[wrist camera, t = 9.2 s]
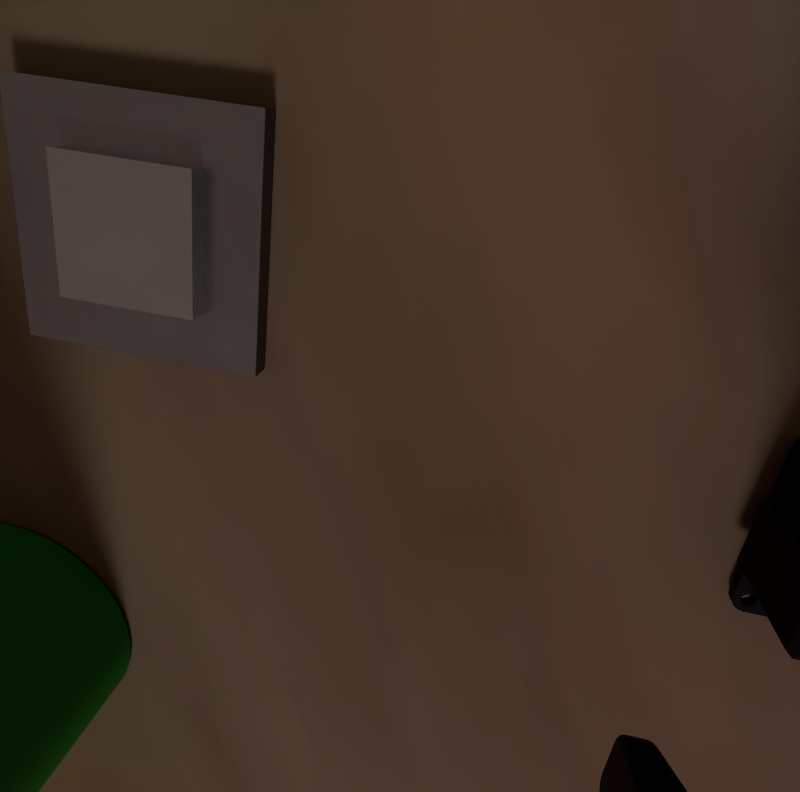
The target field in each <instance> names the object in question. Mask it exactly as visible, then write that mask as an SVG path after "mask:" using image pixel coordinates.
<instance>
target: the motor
mask: <svg viewBox="0 0 800 792" xmlns="http://www.w3.org/2000/svg"><path fill="white" fill-rule="evenodd" d="M130 652H131V647H130V637H129V632H128V629H127V625H126V622H125V620H124V617H123V615H122V613H121V610H120V609H119V607H118V605H117V603H116V601H115V600H114V598H113V597H112V595H111V594H110V592H109V591H108V589H107V588H106V587H105V586H104V584H103V583H102V582H101V581H100V580H99V578H98V577H97V576H96V575H95V574H94V573H93V572H92V571H91V570H90V569H89V568H88V567H87V566H86V565H84V564H83V563H82V562H81V561H80V560H79V559H77V558H76V557H75V556H74V555H72V554H71V553H69V552H68V551H67V550H65V549H64V548H62V547H60V546H59V545H57V544H56V543H54V542H52V541H50V540H48V539H46V538H45V537H42V536H40V535H38V534H36V533H33V532H31V531H28V530H25V529H23V528H19V527H16V526H12V525H8V524H2V523H0V792H39V790H40V789H41V788H42V786H43V785H44V784H45V782H46V781H47V780H48V778H49V777H50V776H51V774H52V773H53V772H54V770H55V769H56V768H57V766H58V765H59V764H60V762H61V761H62V759H63V758H64V757H65V755H66V754H67V753H68V751H69V750H70V749H71V747H72V746H73V745H74V743H75V742H76V741H77V739H78V738H79V737H80V735H81V734H82V732H83V731H84V730H85V728H86V727H87V726H88V724H89V723H90V722H91V720H92V719H93V718H94V716H95V715H96V714H97V712H98V711H99V710H100V708H101V707H102V706H103V704H104V703H105V701H106V700H107V699H108V697H109V696H110V695H111V693H112V692H113V691H114V689H115V688H116V687H117V685H118V684H119V683H120V681H121V680H122V678H123V677H124V675H125V673H126V671H127V668H128V665H129V661H130Z"/></svg>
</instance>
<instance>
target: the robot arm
mask: <svg viewBox="0 0 800 792" xmlns="http://www.w3.org/2000/svg"><path fill="white" fill-rule="evenodd" d="M737 561H738V563H739V568H738V570H737V572H736V574H735V577H734V579H733V581H732V583H731V586H730V588H729V592H728V594H729V597H730V599H731V601H732V603H733V605H734V606H735V607H736V608H737V609H738V610H741V611H743V612H748V613H753V614H758V615H762V616H767V617H768V619H769V620H770V622H771V624H772V626H773V628H774V630H775V631H776V633H777V635H778V637H779V639H780V641H781V643H782V644H783V646H784V648H785V650H786V651H787V652H788V654H789V655H790V656H791V658H792V659H797V660H800V439H799V440H798V441H796V442H795V444H794V445H793V446H792V448H791V450H790V453H789V455H788V457H787V459H786V462H785V464H784V466H783V468H782V471H781V473H780V475H779V477H778V480H777V482H776V484H775V486H774V489H773V491H772V493H771V494H770V495H769V496H767V497H766V498H765V499H764V500H763V502H762V504H761V507H760V509H759V511H758V513H757V516H756V518H755V520H754V522H753V525H752V527H751V529H750V532H749V534H748V536H747V538H746V541H745V543H744V545H743V547H742V550H741V552H740V554H739V556H738V559H737ZM745 594H751V596H749V597H747V598H741V597H742V596H743V595H745ZM599 792H687V791H686V789H685V788H684V786H683V785H682V783H681V782H680V780H679V779H678V777H677V776H676V774H675V773H674V772H673V770H672V769H671V767H670V766H669V764H668V763H667V761H666V760H665V758H664V757H663V755H662V754H661V752H660V751H659V749H658V748H657V747H656V746H655V745H654V744H653V743H652V742H651V741H649V740H646V739H642V738H637V737H633V736H629V735H620V736H619V737H617V739H616V741H615V743H614V745H613V748H612V750H611V753H610V755H609V758H608V760H607V763H606V765H605V768H604V770H603V773H602V776H601V781H600V791H599Z"/></svg>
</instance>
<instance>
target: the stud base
mask: <svg viewBox="0 0 800 792" xmlns="http://www.w3.org/2000/svg"><path fill="white" fill-rule="evenodd" d="M0 90H1V98H2V106H3V115H4V123H5V131H6V139H7V148H8V156H9V164H10V172H11V181H12V189H13V197H14V205H15V214H16V222H17V230H18V238H19V247H20V255H21V263H22V271H23V280H24V288H25V296H26V304H27V313H28V321H29V329H30V335H35V336H40V337H46V338H51V339H56V340H62V341H67V342H72V343H77V344H83V345H88V346H93V347H99V348H104V349H109V350H114V351H120V352H125V353H130V354H136V355H141V356H146V357H152V358H157V359H162V360H167V361H173V362H178V363H183V364H189V365H194V366H199V367H205V368H210V369H215V370H220V371H226V372H231V373H236V374H242V375H247V376H252V377H256V376H257V375H258V374H259V373H260V372H261V371H263V370H264V367H265V344H266V321H267V298H268V274H269V251H270V228H271V204H272V181H273V158H274V135H275V111H276V109H270V108H263V107H256V106H249V105H242V104H235V103H228V102H221V101H213V100H206V99H199V98H192V97H185V96H178V95H171V94H164V93H157V92H150V91H143V90H136V89H129V88H122V87H115V86H108V85H101V84H94V83H87V82H80V81H73V80H66V79H59V78H52V77H45V76H38V75H31V74H24V73H17V72H10V71H3V70H0Z"/></svg>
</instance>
